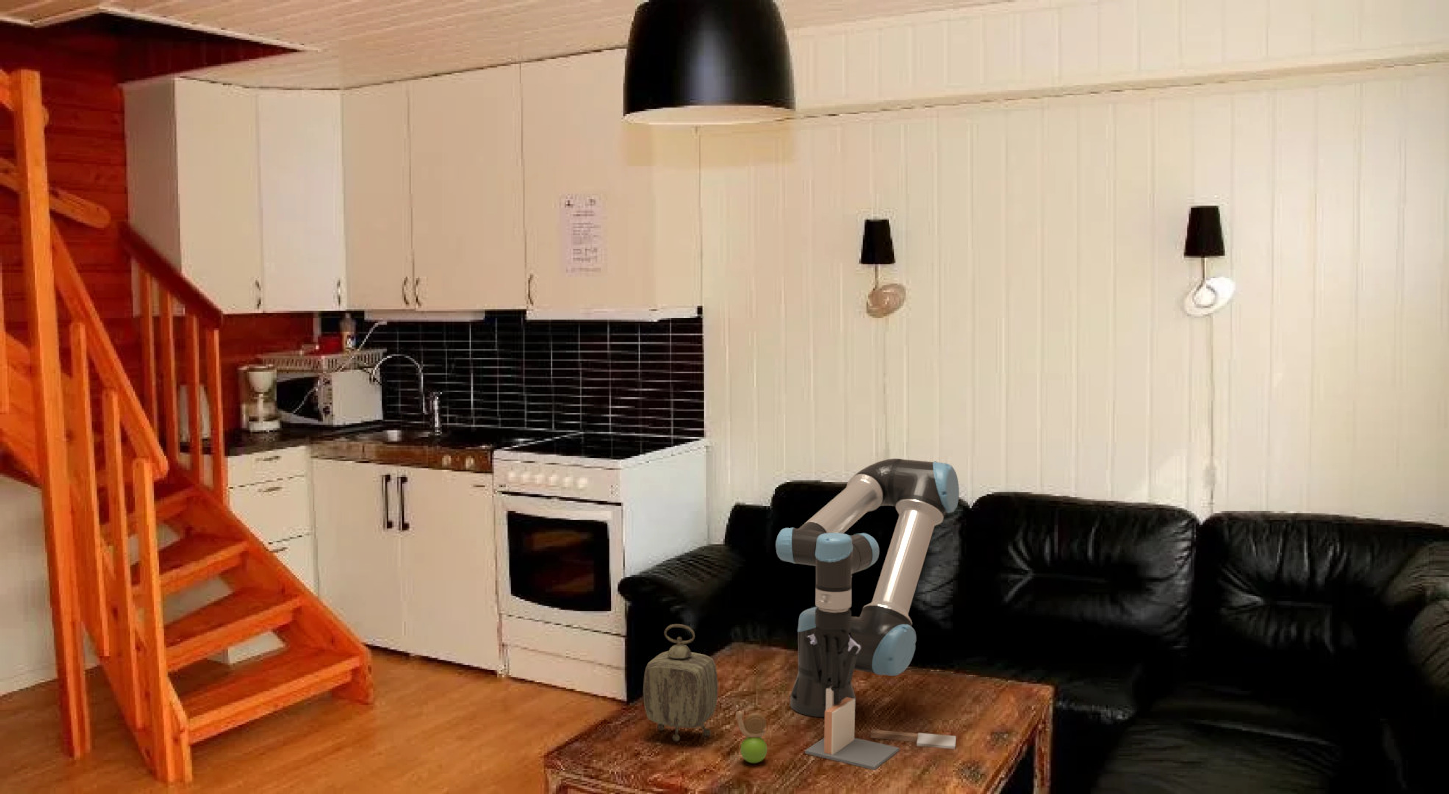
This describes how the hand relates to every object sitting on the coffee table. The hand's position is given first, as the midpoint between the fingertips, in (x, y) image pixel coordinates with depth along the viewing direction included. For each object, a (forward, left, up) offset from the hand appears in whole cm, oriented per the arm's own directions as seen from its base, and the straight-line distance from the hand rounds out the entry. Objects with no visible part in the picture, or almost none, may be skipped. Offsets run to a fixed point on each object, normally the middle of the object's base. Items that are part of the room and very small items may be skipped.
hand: (831, 717), depth 254 cm
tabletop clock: (-30, -13, -7) cm, 34 cm away
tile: (+2, 0, -6) cm, 6 cm away
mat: (+5, 0, -7) cm, 8 cm away
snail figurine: (-10, -16, -7) cm, 20 cm away
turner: (+13, +13, -7) cm, 20 cm away
